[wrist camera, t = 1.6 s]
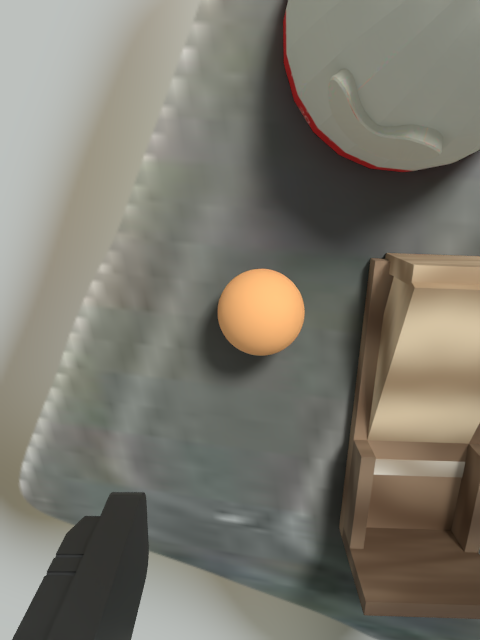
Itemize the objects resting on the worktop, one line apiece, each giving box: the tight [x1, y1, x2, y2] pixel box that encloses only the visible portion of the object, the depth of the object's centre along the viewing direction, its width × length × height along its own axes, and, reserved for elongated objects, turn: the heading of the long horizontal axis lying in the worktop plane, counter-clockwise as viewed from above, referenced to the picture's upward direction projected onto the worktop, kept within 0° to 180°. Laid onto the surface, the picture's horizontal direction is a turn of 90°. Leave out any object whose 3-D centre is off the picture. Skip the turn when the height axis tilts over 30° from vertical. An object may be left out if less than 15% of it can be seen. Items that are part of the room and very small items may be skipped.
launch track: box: [339, 253, 480, 619], centre depth 27 cm, size 20×9×9 cm, turn 178°
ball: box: [218, 269, 305, 356], centre depth 25 cm, size 5×5×5 cm
